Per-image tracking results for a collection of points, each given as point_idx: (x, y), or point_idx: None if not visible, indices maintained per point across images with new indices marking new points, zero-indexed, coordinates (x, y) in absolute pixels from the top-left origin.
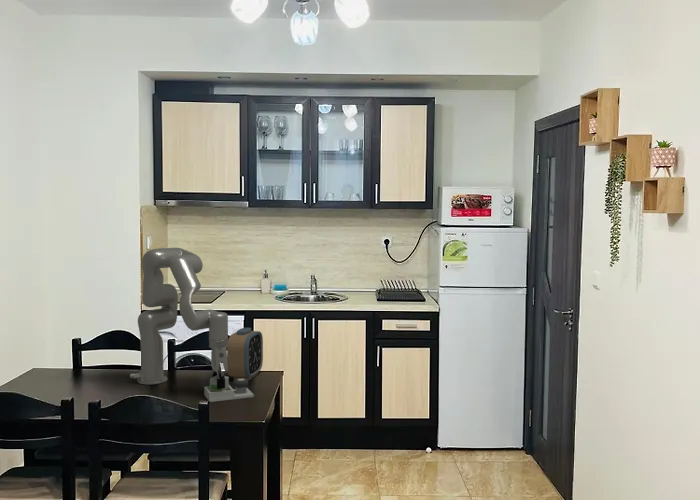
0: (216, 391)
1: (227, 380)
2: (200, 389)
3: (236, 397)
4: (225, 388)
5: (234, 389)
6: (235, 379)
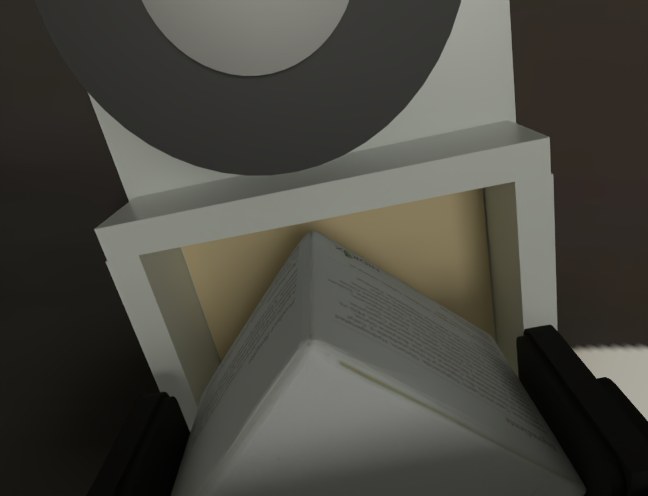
0: (217, 355)
1: (370, 327)
2: (13, 479)
3: (508, 83)
4: (409, 290)
5: (99, 105)
6: (178, 120)
